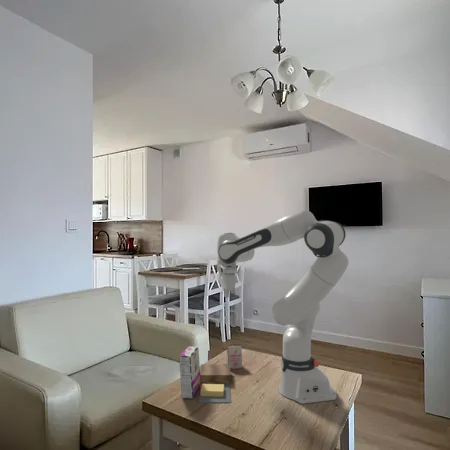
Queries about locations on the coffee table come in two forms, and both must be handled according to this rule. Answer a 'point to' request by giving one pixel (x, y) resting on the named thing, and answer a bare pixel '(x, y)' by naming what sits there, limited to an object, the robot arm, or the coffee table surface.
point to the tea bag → (234, 357)
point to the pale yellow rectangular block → (212, 390)
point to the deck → (215, 374)
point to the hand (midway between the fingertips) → (226, 297)
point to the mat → (213, 399)
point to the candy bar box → (190, 372)
